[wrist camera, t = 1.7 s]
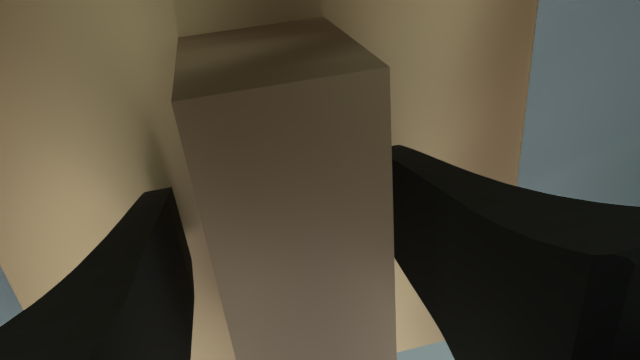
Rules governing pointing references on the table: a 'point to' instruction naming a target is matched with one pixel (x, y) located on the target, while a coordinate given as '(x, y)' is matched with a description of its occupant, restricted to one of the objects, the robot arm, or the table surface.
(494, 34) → the oak lid
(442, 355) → the rubber mat
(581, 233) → the robot arm
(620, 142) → the table surface
